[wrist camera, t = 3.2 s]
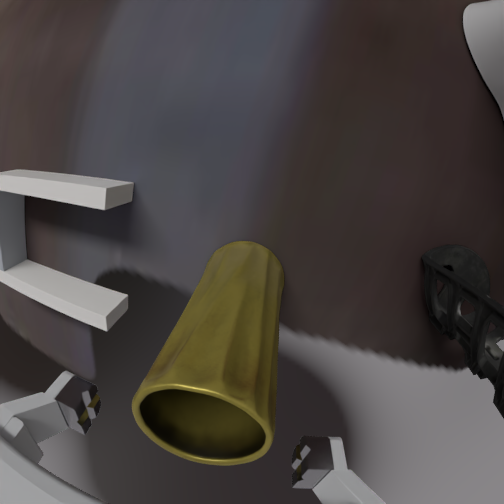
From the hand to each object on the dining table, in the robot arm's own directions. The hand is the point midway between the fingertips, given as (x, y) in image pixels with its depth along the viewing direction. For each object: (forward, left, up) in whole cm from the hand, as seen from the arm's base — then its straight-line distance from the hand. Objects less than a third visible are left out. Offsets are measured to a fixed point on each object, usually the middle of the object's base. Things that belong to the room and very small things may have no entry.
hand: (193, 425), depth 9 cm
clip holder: (+18, 0, -14) cm, 22 cm away
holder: (-19, -3, -14) cm, 24 cm away
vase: (0, 0, -14) cm, 14 cm away
